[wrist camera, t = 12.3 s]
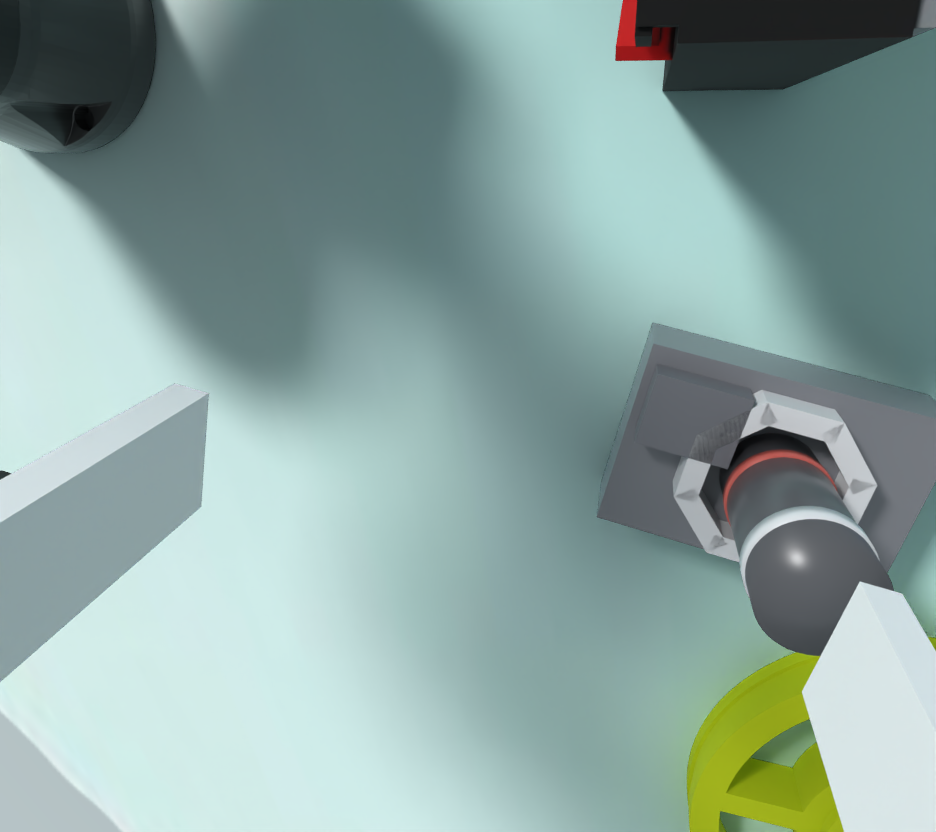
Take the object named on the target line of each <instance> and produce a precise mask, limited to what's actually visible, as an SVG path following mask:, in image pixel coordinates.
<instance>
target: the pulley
mask: <svg viewBox="0 0 936 832" xmlns="http://www.w3.org/2000/svg"><path fill="white" fill-rule="evenodd" d="M928 639H929V640H930V642H931V644H932V646H933V647H934V649H935V651H936V638H932V637H928ZM819 658H820V656H813V655H806V654H802V653H798V652H796V653H793V654H791V655H788V656H786V657H783V658H781V659H779V660H777V661H775V662H773V663H771V664H769V665H767V666H765V667H763V668H761V669H760V670H758V671H756V672H755V673H753V674H752V675H750V676H748V677H747V678H746V679H744V680H743V681H742V682H740V683H739V684H738V685H736V686H735V687H734V688H733V689H732V690H731V691H729V692H728V693H727V694H726V695H725V696H724V697H723V698H722V699H721V700H720V701H719V702H718V704H717V705H716V706H715V707H714V708H713V709H712V711H711V712H710V714H709V715H708V716H707V718H706V719H705V721H704V723H703V724H702V726H701V728H700V729H699V732H698V734H697V736H696V738H695V740H694V743H693V746H692V749H691V752H690V756H689V761H688V767H687V796H688V806H689V827H690V832H726V830H725V828H724V826H723V824H722V821H721V819H720V811H722V812H726V813H730V814H734V815H738V816H742V817H746V818H750V819H754V820H758V821H762V822H766V823H770V824H774V825H778V826H782V827H786V828H790V829H793V832H844V830H843V827H842V823H841V820H840V817H839V813H838V810H837V807H836V804H835V800H834V797H833V794H832V790H831V787H830V784H829V780H828V777H827V774H826V770H825V767H824V764H823V761H822V757H821V754H820V751H819V747H818V744H817V742H816V743H815V744H813V745H812V746H811V747H809V748H808V749H807V750H806V751H805V752H804V753H803V754H802V755H801V756H800V758H799V759H798V760H797V762H796V763H795V765H794V766H793V768H791V767H787V766H783V765H779V764H775V763H770V762H766V761H762V760H758V759H754V758H750V757H751V756H752V755H753V754H754V753H755V752H756V751H757V750H758V749H760V748H761V747H762V746H763V745H764V744H766V743H767V742H769V741H770V740H771V739H773V738H774V737H776V736H777V735H779V734H781V733H782V732H784V731H786V730H788V729H789V728H791V727H793V726H795V725H797V724H800V723H802V722H804V721H806V720H809V719H810V718H809V714H808V711H807V708H806V704H805V701H804V698H803V694H802V690H803V689H804V687H805V685H806V683H807V681H808V679H809V677H810V675H811V673H812V671H813V669H814V668H815V666H816V664H817V662H818V660H819Z"/></svg>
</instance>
